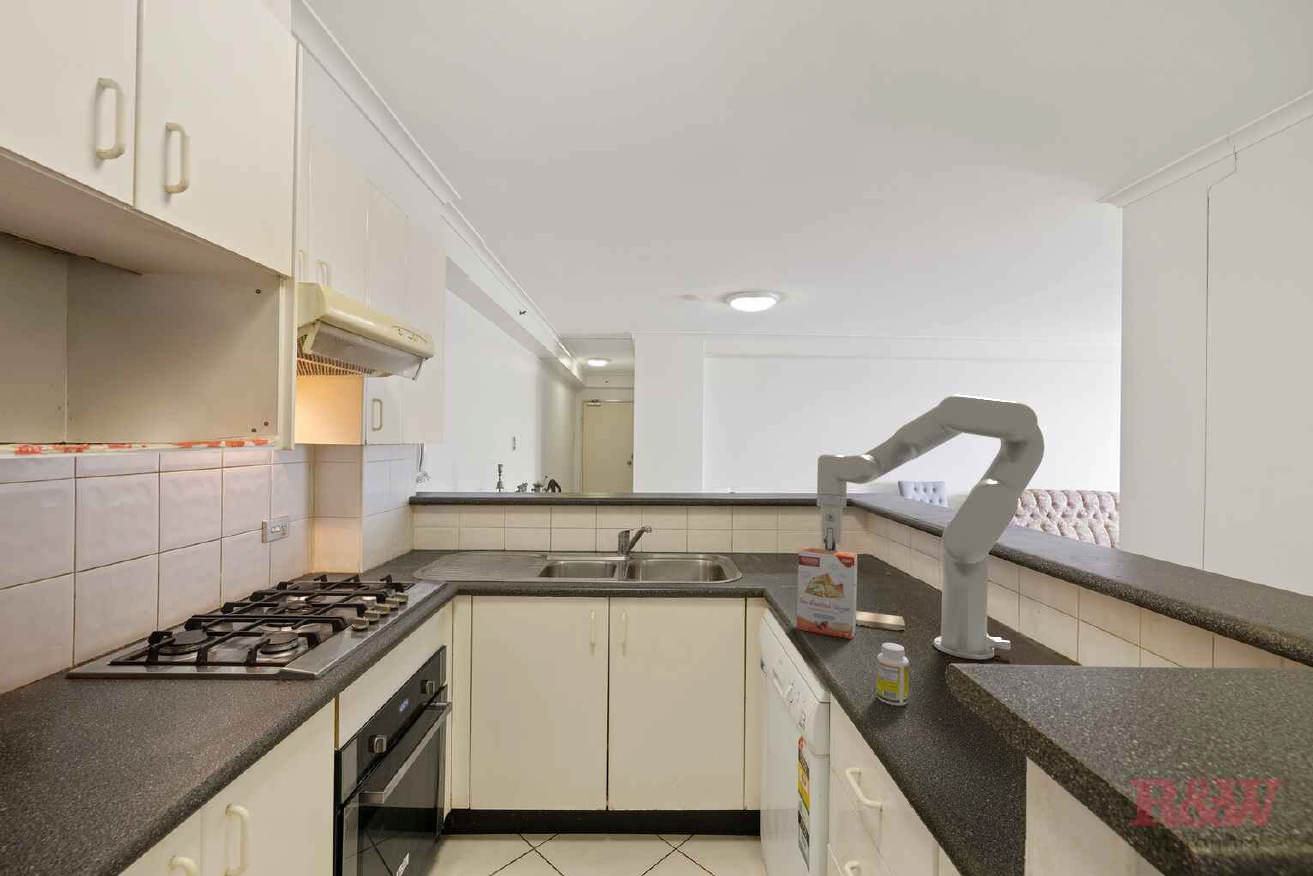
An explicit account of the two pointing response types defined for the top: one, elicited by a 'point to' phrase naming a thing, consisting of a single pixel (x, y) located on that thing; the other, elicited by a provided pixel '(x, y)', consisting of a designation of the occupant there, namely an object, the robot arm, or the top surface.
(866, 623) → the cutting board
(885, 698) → the supplement bottle
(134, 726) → the top surface
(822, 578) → the cracker box
